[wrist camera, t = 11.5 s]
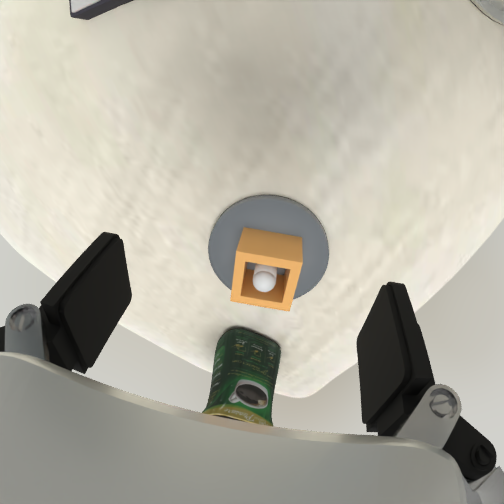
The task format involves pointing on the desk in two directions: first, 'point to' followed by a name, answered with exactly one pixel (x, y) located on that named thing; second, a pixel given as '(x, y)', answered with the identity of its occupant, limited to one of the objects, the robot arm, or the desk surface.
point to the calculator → (92, 7)
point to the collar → (272, 254)
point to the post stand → (273, 220)
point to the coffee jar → (244, 377)
